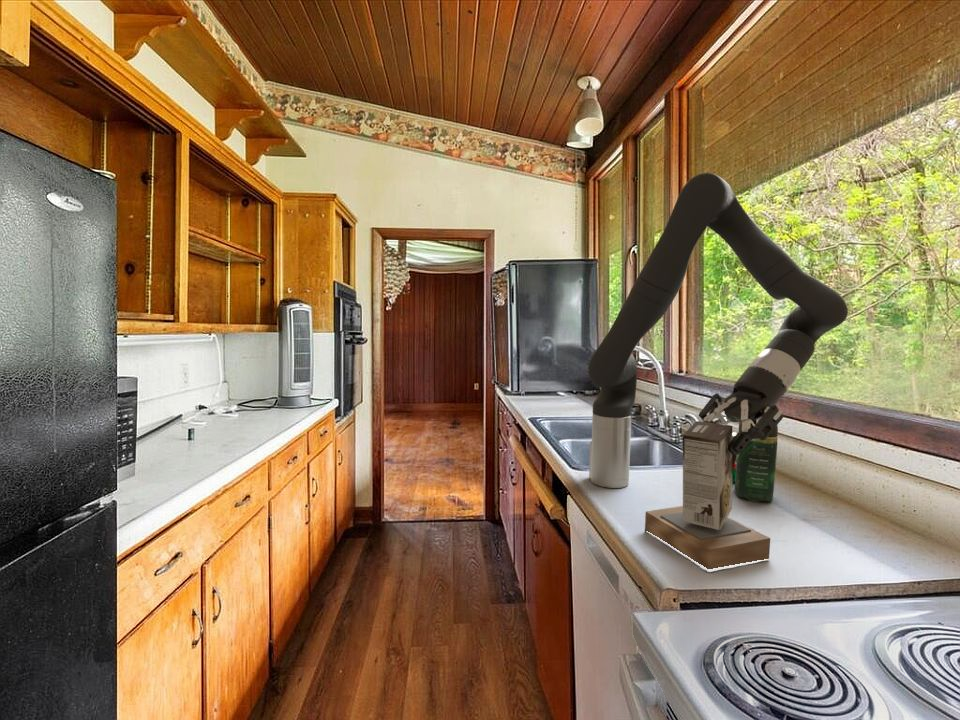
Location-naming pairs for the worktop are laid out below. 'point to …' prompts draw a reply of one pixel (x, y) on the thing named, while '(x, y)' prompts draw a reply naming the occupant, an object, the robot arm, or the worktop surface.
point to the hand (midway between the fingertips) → (714, 446)
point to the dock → (708, 539)
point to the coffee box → (707, 474)
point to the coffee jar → (757, 468)
